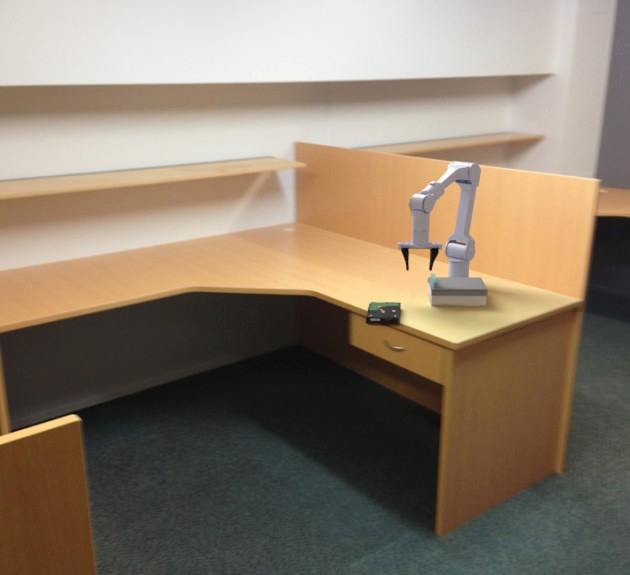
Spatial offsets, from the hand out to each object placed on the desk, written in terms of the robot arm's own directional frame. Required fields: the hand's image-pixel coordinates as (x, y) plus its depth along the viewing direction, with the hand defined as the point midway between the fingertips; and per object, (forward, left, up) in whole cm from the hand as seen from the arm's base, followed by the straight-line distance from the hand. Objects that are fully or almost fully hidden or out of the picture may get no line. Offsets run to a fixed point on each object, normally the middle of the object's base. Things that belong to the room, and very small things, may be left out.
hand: (418, 269), depth 233 cm
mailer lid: (0, +13, -7) cm, 14 cm away
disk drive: (+16, -12, -11) cm, 23 cm away
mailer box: (0, +13, -11) cm, 17 cm away
